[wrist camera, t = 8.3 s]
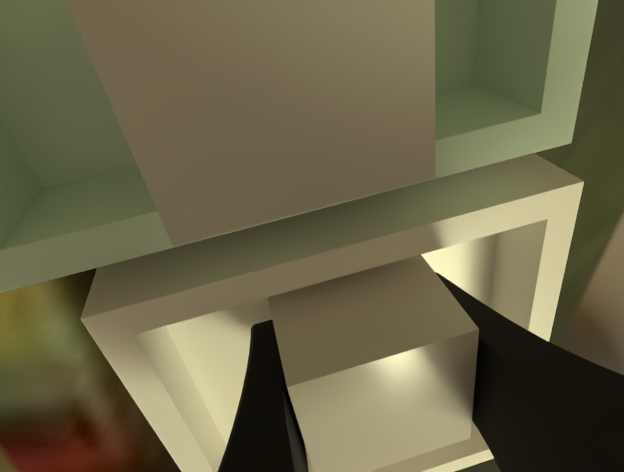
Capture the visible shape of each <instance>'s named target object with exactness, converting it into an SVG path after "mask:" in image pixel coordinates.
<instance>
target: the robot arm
mask: <svg viewBox="0 0 624 472" xmlns="http://www.w3.org/2000/svg"><path fill="white" fill-rule="evenodd" d="M436 274H437V276H438V277H439V278H440V279H441V281H442V282H443V283H444V285H445V286H446V287H447V288H448V290H449V291H450V292H451V294H452V295H453V296H454V298H455V299H456V300H457V301H458V303H459V304H460V305H461V307H462V308H463V309H464V310H465V312H466V313H467V314H468V316H469V317H470V318H471V319H472V321H473V322H474V323H475V325H476V326H477V327H478V329H479V337H478V350H477V362H476V374H475V387H474V399H473V412H472V421H473V423H474V424H475V426H476V427H477V429H478V430H479V432H480V434H481V435H482V437H483V439H484V440H485V442H486V444H487V446H488V447H489V449H490V451H491V453H492V455H493V457H494V459H495V461H496V463H497V465H498V466H499V468H500V470H501V472H624V375H621V374H619V373H616V372H614V371H611V370H609V369H607V368H604V367H602V366H599V365H597V364H595V363H593V362H590V361H588V360H586V359H583V358H581V357H579V356H577V355H575V354H573V353H571V352H569V351H566V350H565V349H562V348H560V347H558V346H556V345H554V344H552V343H550V342H548V341H546V340H544V339H543V338H541V337H539V336H537V335H535V334H534V333H532V332H530V331H528V330H526V329H525V328H523V327H521V326H519V325H518V324H516V323H514V322H513V321H511V320H509V319H508V318H506V317H504V316H503V315H501V314H500V313H498V312H496V311H495V310H493V309H491V308H490V307H488V306H487V305H485V304H484V303H482V302H481V301H479V300H477V299H476V298H474V297H473V296H471V295H470V294H468V293H467V292H465V291H464V290H463V289H461V288H460V287H458V286H457V285H455V284H454V283H452V282H451V281H449V280H448V279H446V278H445V277H443V276H442V275H440V274H439V273H437V272H436ZM217 472H309V469H308V462H307V455H306V448H305V443H304V439H303V436H302V433H301V430H300V427H299V424H298V421H297V418H296V414H295V411H294V408H293V405H292V402H291V399H290V396H289V392H288V389H287V386H286V381H285V376H284V371H283V367H282V362H281V357H280V353H279V348H278V343H277V339H276V334H275V329H274V325H273V320H272V319H271V320H268V321H264V322H261V323H257V324H254V325H253V326H252V328H251V339H250V349H249V357H248V363H247V369H246V374H245V379H244V383H243V388H242V393H241V397H240V401H239V405H238V409H237V412H236V416H235V420H234V423H233V427H232V430H231V433H230V437H229V440H228V443H227V446H226V449H225V452H224V455H223V458H222V460H221V463H220V466H219V469H218V471H217Z"/></svg>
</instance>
